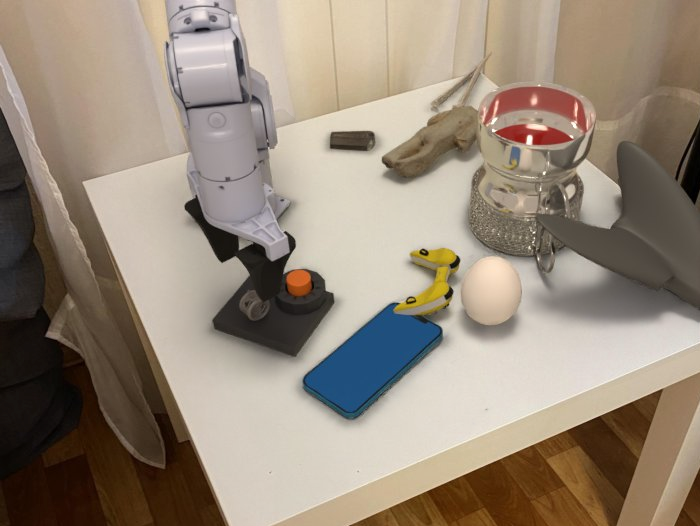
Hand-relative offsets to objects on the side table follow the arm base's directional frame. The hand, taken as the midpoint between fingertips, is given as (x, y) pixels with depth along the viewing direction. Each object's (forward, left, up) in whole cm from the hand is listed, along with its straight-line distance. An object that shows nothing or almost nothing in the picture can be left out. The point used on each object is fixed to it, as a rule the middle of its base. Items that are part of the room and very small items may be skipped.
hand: (248, 276), depth 86 cm
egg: (+23, +11, -7) cm, 26 cm away
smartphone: (+14, 0, -7) cm, 16 cm away
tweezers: (+3, +55, -5) cm, 55 cm away
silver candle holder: (+23, +27, -7) cm, 36 cm away
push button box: (+1, +2, -7) cm, 7 cm away
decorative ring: (0, 0, -6) cm, 6 cm away
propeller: (+37, +23, -4) cm, 44 cm away
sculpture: (+5, +36, -7) cm, 37 cm away
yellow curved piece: (+15, +12, -7) cm, 20 cm away
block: (-6, +35, -8) cm, 36 cm away
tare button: (+3, +4, -4) cm, 7 cm away
